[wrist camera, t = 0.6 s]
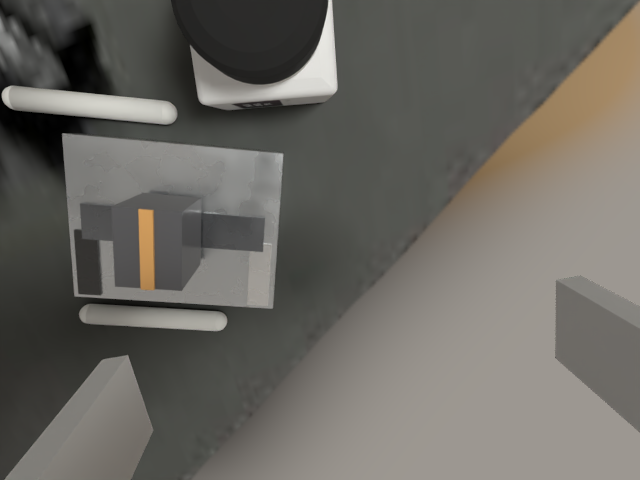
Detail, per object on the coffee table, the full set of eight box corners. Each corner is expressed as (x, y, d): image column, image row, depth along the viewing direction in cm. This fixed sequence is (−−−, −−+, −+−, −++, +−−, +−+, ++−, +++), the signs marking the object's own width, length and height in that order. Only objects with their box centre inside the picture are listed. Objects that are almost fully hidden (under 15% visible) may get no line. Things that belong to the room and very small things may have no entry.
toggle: (144, 260, 29) (113, 287, 24) (143, 192, 28) (109, 206, 23) (200, 264, 30) (180, 292, 25) (201, 197, 28) (180, 212, 23)
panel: (87, 286, 32) (72, 298, 30) (77, 133, 29) (59, 133, 27) (274, 298, 33) (272, 310, 31) (284, 151, 30) (283, 153, 28)
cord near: (13, 109, 28) (-3, 108, 27) (11, 85, 28) (-6, 83, 26) (180, 125, 29) (173, 125, 28) (180, 102, 29) (173, 101, 27)
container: (328, 102, 29) (350, 83, 17) (223, 110, 29) (167, 98, 17) (319, -17, 27) (338, -139, 15) (206, -9, 27) (128, -125, 15)
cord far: (86, 317, 33) (75, 326, 31) (84, 299, 33) (74, 308, 31) (228, 325, 34) (225, 335, 32) (228, 308, 33) (225, 317, 32)
